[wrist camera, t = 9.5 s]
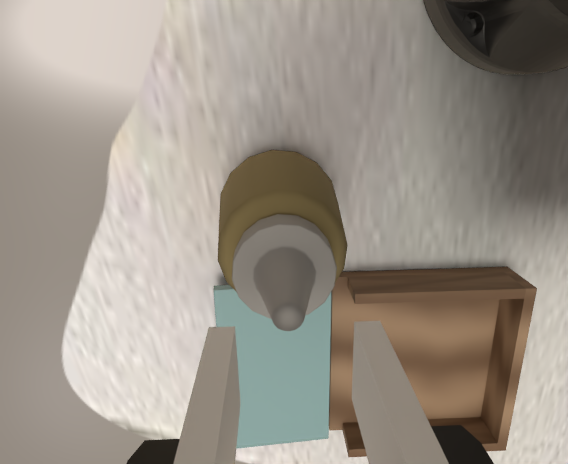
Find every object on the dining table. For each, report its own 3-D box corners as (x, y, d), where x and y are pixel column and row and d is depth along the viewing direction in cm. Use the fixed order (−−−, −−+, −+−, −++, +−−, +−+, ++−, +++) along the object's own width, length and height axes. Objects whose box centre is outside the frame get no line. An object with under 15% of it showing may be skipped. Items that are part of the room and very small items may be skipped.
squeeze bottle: (344, 160, 31) (437, 242, 14) (312, 257, 33) (357, 428, 16) (239, 129, 30) (201, 177, 13) (213, 231, 33) (152, 384, 15)
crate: (330, 272, 34) (338, 294, 30) (507, 266, 34) (536, 288, 31) (328, 422, 39) (334, 457, 35) (482, 415, 39) (505, 450, 35)
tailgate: (329, 278, 33) (213, 285, 32) (331, 282, 32) (213, 290, 31) (326, 431, 38) (226, 442, 37) (328, 438, 37) (226, 449, 36)
